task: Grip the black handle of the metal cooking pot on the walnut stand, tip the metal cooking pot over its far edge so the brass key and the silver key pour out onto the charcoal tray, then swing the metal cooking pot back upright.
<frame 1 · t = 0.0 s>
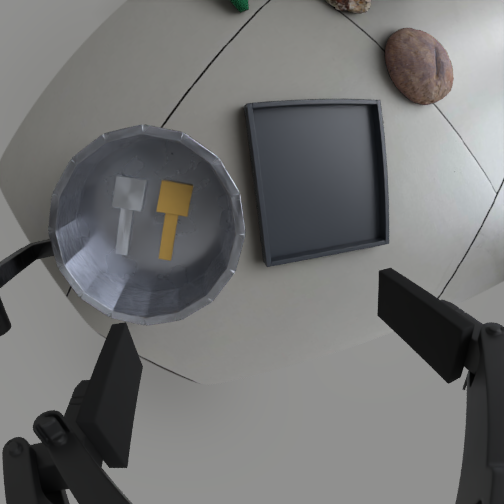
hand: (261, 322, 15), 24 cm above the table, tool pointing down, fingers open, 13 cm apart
tray: (321, 177, 38), on the table
silver key: (126, 216, 25), point 11 cm above the table, touching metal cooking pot
brass key: (170, 221, 26), point 11 cm above the table, touching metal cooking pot
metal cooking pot: (111, 240, 20), point 17 cm above the table, hinge at -0.1°, touching brass key, silver key
decorative stone: (414, 67, 35), on the table
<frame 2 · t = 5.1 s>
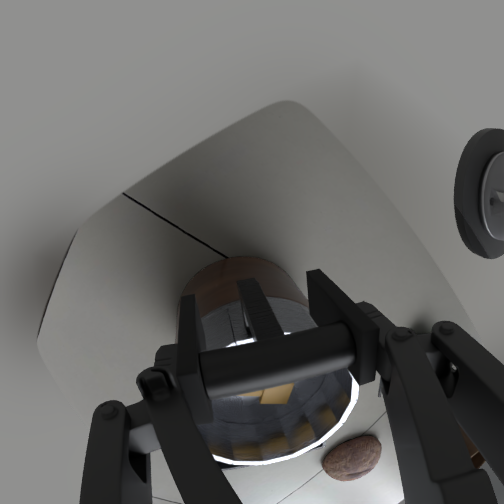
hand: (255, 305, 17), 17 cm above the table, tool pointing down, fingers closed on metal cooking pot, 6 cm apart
flower pot: (431, 421, 53), on the table
brass key: (254, 389, 26), point 11 cm above the table, touching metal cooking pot
stand: (240, 315, 36), on the table
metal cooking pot: (270, 404, 20), point 17 cm above the table, hinge at -0.1°, touching brass key, gripper, silver key
decorative stone: (349, 453, 50), on the table
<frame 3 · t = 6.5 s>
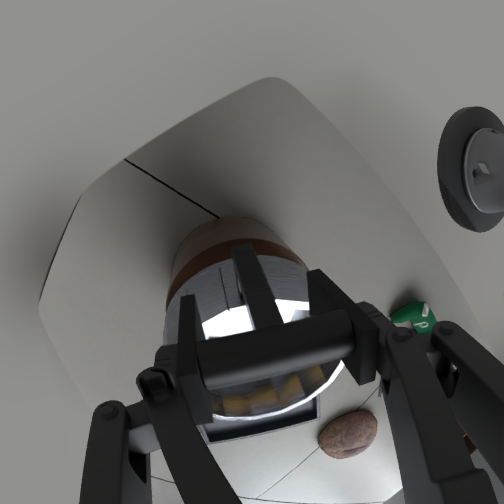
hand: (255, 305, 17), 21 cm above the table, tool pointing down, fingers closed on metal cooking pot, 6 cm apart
tray: (254, 391, 44), on the table
gaming controller: (410, 318, 46), on the table
silver key: (253, 312, 26), point 13 cm above the table, tilted 14°, touching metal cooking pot
stand: (231, 275, 38), on the table
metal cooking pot: (262, 368, 21), point 19 cm above the table, hinge at 13.6°, touching brass key, gripper, silver key
decorative stone: (345, 429, 52), on the table
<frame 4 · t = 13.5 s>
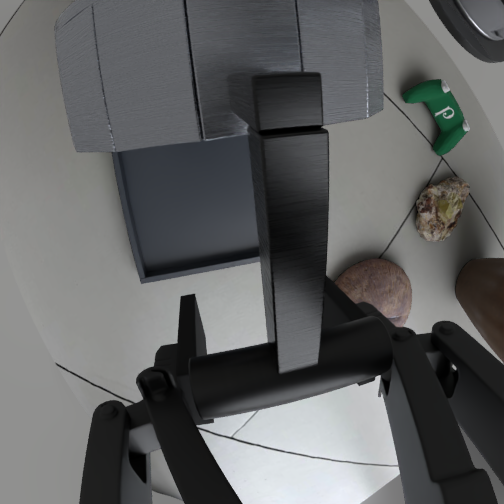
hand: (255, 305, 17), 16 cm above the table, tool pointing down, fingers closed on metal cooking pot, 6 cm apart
mineral rock: (438, 206, 36), on the table
tray: (218, 178, 31), on the table
gaming controller: (429, 115, 32), on the table
flower pot: (469, 279, 41), on the table
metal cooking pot: (232, 131, 13), point 18 cm above the table, hinge at 104.6°, touching brass key, gripper
decorative stone: (364, 300, 38), on the table
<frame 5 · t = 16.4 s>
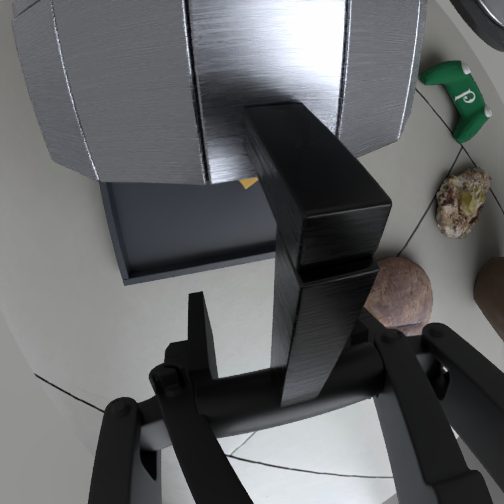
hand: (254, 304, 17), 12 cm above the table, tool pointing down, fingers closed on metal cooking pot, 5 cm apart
mineral rock: (458, 199, 31), on the table
tray: (215, 162, 26), on the table
gaming controller: (447, 99, 28), on the table
flower pot: (487, 280, 36), on the table
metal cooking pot: (234, 119, 11), point 15 cm above the table, hinge at 119.8°, touching gripper
decorative stone: (380, 304, 33), on the table
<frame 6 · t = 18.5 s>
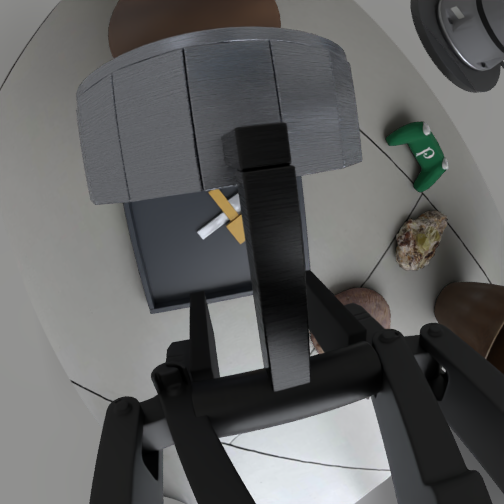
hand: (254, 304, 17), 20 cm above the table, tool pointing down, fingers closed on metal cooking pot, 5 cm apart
mineral rock: (417, 237, 41), on the table
tray: (217, 222, 35), on the table
gaming controller: (411, 154, 37), on the table
flower pot: (448, 300, 46), on the table
silver key: (223, 217, 35), resting on tray, touching brass key
brass key: (230, 212, 34), point 1 cm above the table, touching silver key
stand: (193, 55, 29), on the table
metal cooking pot: (230, 192, 15), point 19 cm above the table, hinge at 91.3°, touching gripper
decorative stone: (348, 323, 43), on the table
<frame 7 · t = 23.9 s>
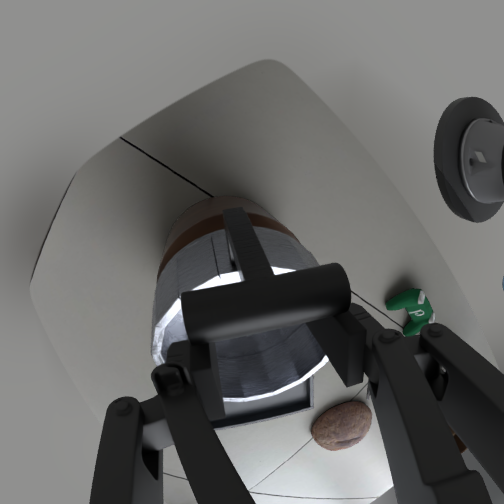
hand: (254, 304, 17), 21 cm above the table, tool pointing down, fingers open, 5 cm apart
tray: (247, 378, 44), on the table
gaming controller: (405, 307, 46), on the table
stand: (225, 255, 38), on the table
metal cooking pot: (253, 341, 20), point 19 cm above the table, hinge at 13.6°, touching gripper
decorative stone: (339, 420, 52), on the table
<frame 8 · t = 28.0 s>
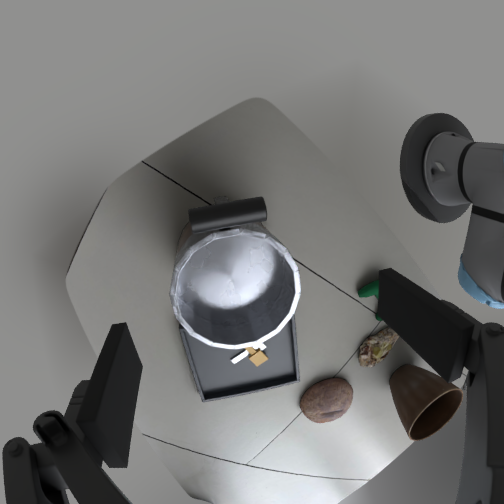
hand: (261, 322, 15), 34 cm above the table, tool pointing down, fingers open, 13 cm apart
mineral rock: (376, 344, 61), on the table
tray: (243, 353, 55), on the table
gaming controller: (376, 295, 57), on the table
flower pot: (401, 375, 66), on the table
silver key: (246, 351, 55), resting on tray, touching brass key
brass key: (251, 350, 54), point 1 cm above the table, touching silver key
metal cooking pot: (235, 281, 33), point 17 cm above the table, hinge at -0.1°
decorative stone: (324, 396, 63), on the table
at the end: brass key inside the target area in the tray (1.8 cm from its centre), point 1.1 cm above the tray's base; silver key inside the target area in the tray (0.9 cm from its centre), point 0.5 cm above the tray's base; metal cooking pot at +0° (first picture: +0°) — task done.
